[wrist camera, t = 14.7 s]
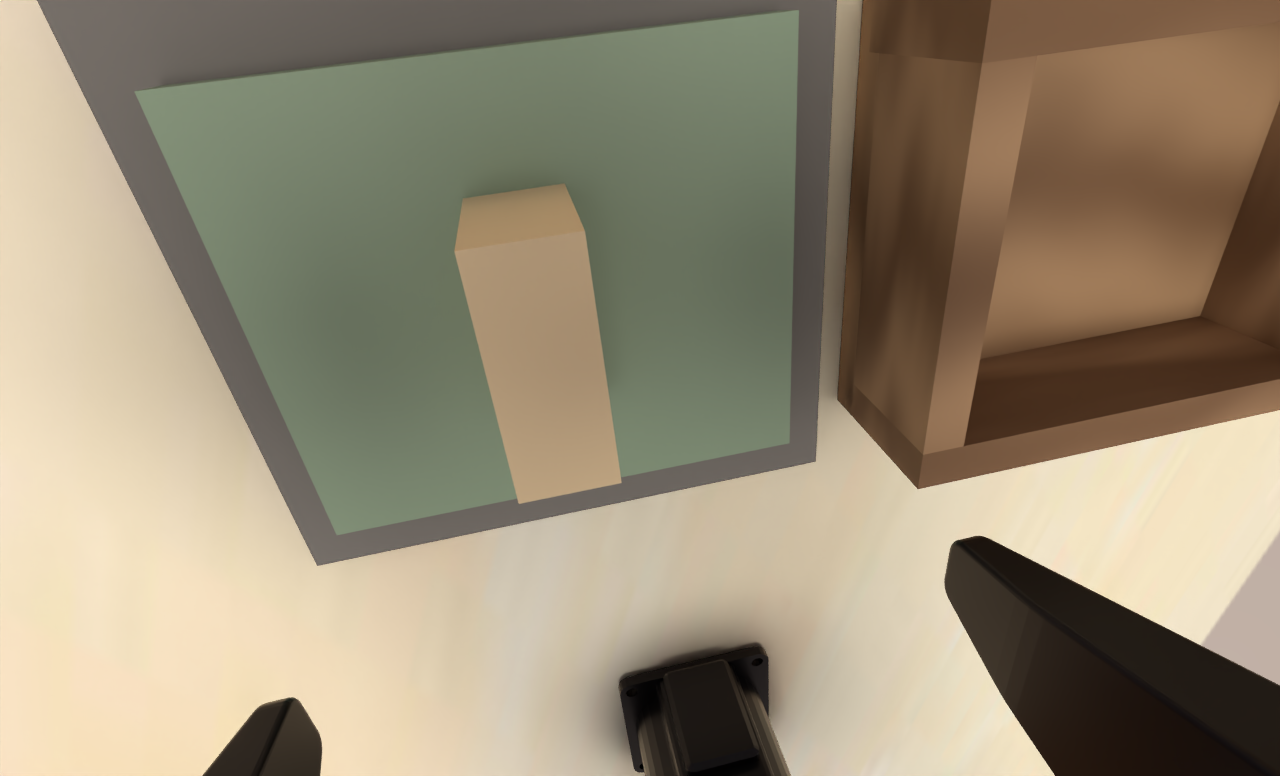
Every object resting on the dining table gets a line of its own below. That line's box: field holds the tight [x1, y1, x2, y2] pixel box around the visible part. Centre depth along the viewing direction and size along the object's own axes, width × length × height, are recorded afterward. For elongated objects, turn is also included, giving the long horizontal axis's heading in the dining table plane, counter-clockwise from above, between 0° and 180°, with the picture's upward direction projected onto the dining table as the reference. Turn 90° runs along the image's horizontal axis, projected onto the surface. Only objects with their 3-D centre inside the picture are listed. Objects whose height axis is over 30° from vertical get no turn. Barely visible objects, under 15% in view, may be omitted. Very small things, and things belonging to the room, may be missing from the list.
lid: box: [134, 10, 799, 535], centre depth 16 cm, size 12×14×5 cm
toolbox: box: [838, 0, 1280, 489], centre depth 17 cm, size 15×15×6 cm
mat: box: [37, 0, 837, 566], centre depth 18 cm, size 16×17×1 cm
